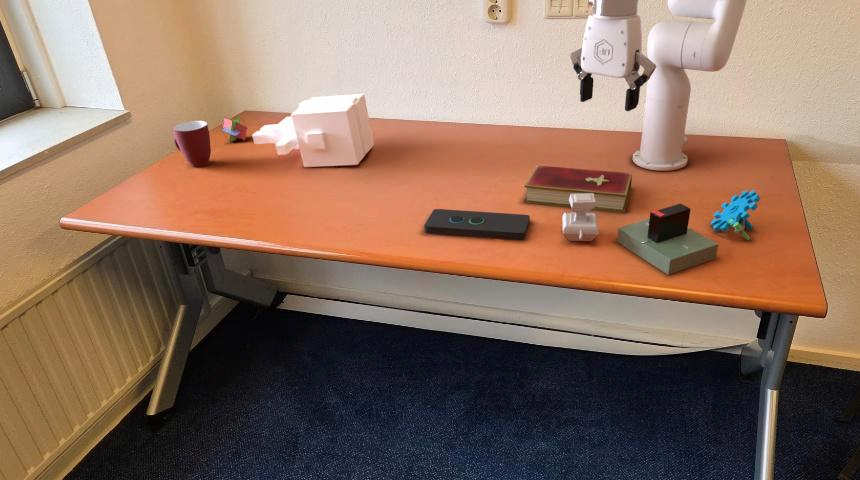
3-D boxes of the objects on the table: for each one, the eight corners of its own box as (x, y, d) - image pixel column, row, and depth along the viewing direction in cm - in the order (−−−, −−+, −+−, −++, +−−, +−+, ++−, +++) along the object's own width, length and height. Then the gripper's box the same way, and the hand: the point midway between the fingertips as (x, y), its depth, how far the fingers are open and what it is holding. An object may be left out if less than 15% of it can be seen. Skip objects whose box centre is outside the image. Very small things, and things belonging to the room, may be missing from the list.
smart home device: (434, 207, 136) (530, 213, 132) (434, 215, 137) (530, 221, 133) (423, 225, 130) (524, 232, 125) (423, 233, 131) (524, 241, 126)
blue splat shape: (710, 206, 132) (755, 179, 125) (728, 226, 133) (774, 200, 127) (707, 238, 124) (755, 211, 117) (727, 259, 125) (775, 233, 119)
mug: (168, 167, 166) (157, 129, 161) (189, 156, 173) (178, 119, 167) (203, 171, 163) (192, 132, 158) (223, 159, 170) (213, 121, 164)
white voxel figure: (286, 145, 182) (383, 139, 177) (246, 180, 162) (354, 176, 156) (272, 91, 175) (372, 84, 169) (228, 122, 154) (340, 114, 148)
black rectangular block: (676, 227, 122) (680, 202, 119) (686, 233, 120) (691, 207, 117) (647, 237, 119) (650, 211, 117) (656, 243, 117) (660, 216, 115)
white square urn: (561, 226, 131) (563, 187, 126) (595, 226, 130) (598, 187, 126) (562, 248, 123) (564, 207, 119) (598, 248, 123) (601, 207, 118)
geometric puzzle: (259, 129, 182) (238, 106, 180) (246, 137, 177) (225, 113, 174) (243, 143, 186) (223, 120, 183) (231, 152, 180) (209, 128, 178)
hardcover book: (536, 180, 150) (537, 163, 148) (630, 189, 144) (632, 171, 142) (524, 202, 141) (524, 184, 139) (624, 212, 135) (626, 193, 133)
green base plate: (616, 242, 125) (617, 227, 123) (662, 227, 129) (664, 213, 127) (667, 275, 114) (670, 259, 112) (716, 258, 118) (719, 242, 116)
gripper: (562, 5, 117) (558, 101, 126) (649, 15, 107) (638, 118, 116) (585, -1, 122) (580, 92, 131) (671, 7, 112) (659, 108, 121)
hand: (607, 104), depth 124 cm, fingers open, 9 cm apart
